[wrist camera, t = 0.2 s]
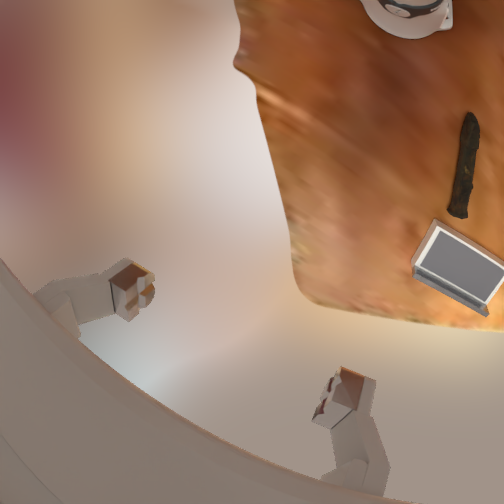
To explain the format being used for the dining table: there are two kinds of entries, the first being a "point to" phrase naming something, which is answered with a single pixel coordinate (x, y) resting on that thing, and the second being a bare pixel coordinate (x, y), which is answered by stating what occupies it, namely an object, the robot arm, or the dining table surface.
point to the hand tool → (465, 167)
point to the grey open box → (457, 267)
